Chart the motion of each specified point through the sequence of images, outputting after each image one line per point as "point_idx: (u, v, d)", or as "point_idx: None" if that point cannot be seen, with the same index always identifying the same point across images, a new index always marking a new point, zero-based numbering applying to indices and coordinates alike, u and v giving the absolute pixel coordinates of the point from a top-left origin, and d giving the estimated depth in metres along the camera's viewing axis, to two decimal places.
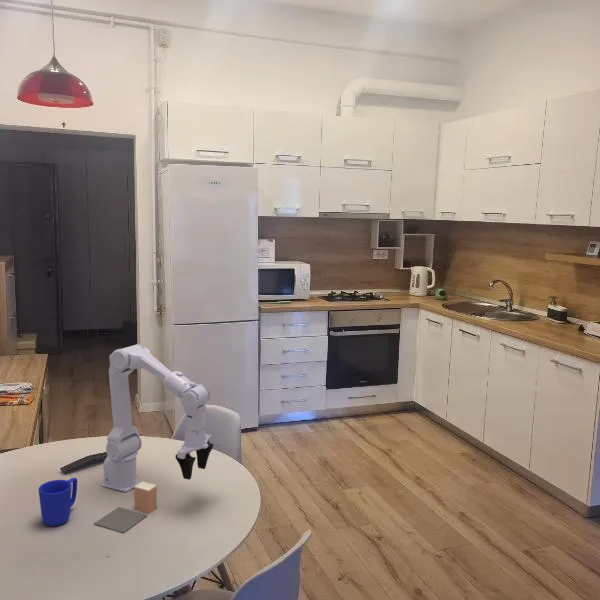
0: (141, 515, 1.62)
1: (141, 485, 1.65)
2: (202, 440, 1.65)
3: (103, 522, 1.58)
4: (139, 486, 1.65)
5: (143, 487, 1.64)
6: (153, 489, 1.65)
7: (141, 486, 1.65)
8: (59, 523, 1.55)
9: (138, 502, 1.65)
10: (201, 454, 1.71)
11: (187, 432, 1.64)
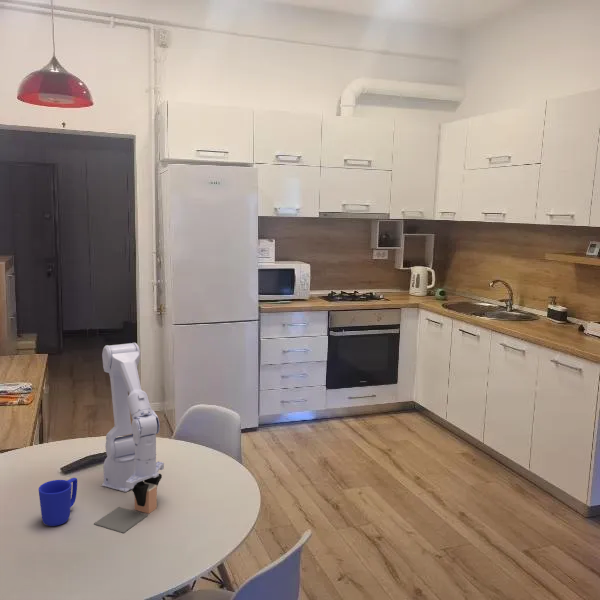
0: (141, 515, 1.62)
1: None
2: (152, 469, 1.63)
3: (103, 522, 1.58)
4: None
5: None
6: (153, 489, 1.65)
7: None
8: (59, 523, 1.55)
9: None
10: None
11: (137, 461, 1.62)
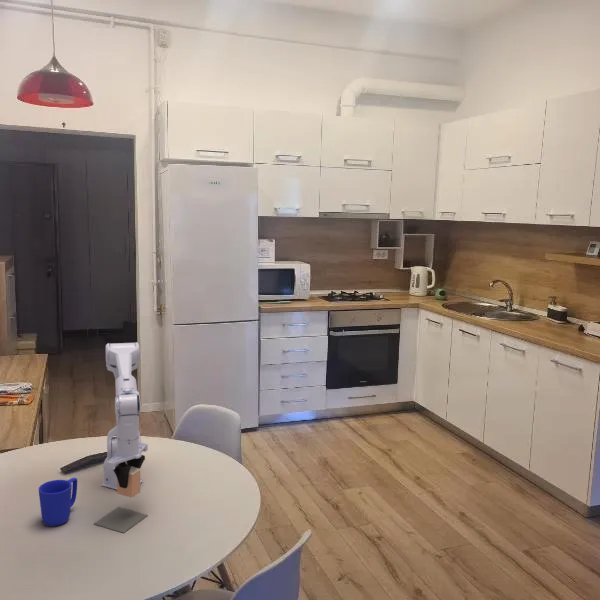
0: (141, 515, 1.62)
1: None
2: (135, 450, 1.58)
3: (103, 522, 1.58)
4: None
5: None
6: (136, 472, 1.60)
7: None
8: (59, 523, 1.55)
9: None
10: (132, 466, 1.62)
11: (118, 441, 1.57)
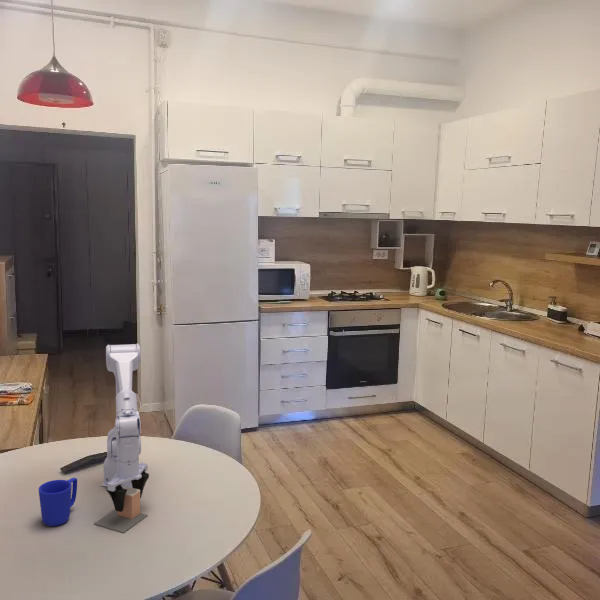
0: (141, 515, 1.62)
1: None
2: (135, 471, 1.59)
3: (103, 522, 1.58)
4: None
5: (126, 492, 1.60)
6: (136, 494, 1.61)
7: None
8: (59, 523, 1.55)
9: None
10: (136, 484, 1.65)
11: (119, 463, 1.58)
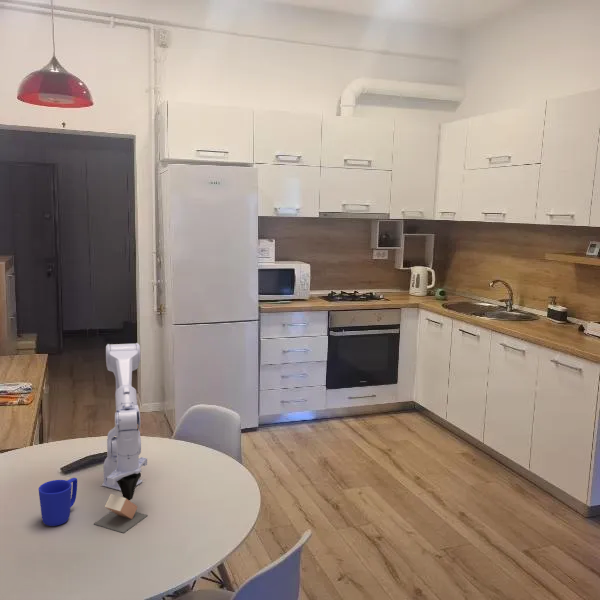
0: (141, 515, 1.62)
1: (111, 502, 1.57)
2: (134, 465, 1.59)
3: (103, 522, 1.58)
4: (109, 505, 1.56)
5: (113, 506, 1.56)
6: (124, 504, 1.56)
7: (111, 504, 1.56)
8: (59, 523, 1.55)
9: (117, 513, 1.59)
10: None
11: (118, 457, 1.58)
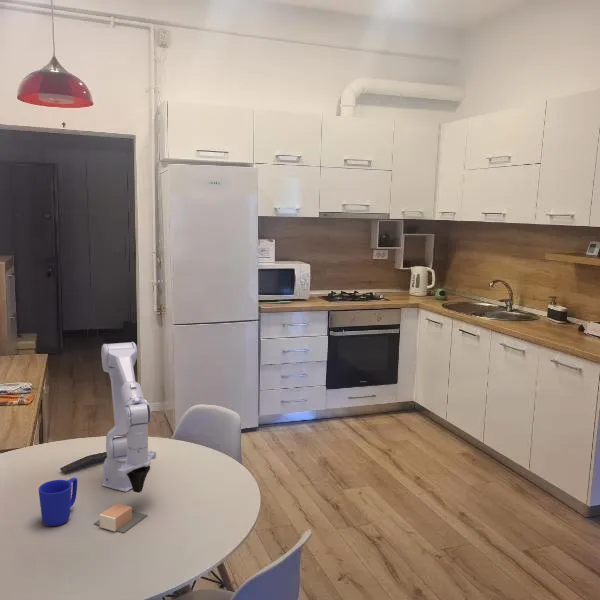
0: (141, 515, 1.62)
1: (103, 523, 1.55)
2: (144, 458, 1.62)
3: None
4: (103, 526, 1.55)
5: (107, 526, 1.54)
6: (116, 523, 1.54)
7: (104, 525, 1.55)
8: (59, 523, 1.55)
9: None
10: None
11: (128, 450, 1.61)
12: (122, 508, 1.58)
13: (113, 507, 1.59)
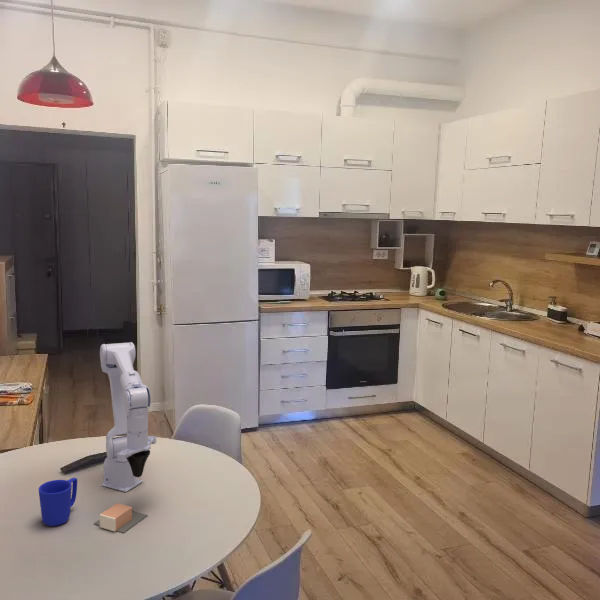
0: (141, 515, 1.62)
1: (103, 523, 1.55)
2: (144, 442, 1.62)
3: None
4: (103, 526, 1.55)
5: (107, 526, 1.54)
6: (116, 523, 1.54)
7: (104, 525, 1.55)
8: (59, 523, 1.55)
9: None
10: None
11: (128, 434, 1.61)
12: (122, 508, 1.58)
13: (113, 507, 1.59)
